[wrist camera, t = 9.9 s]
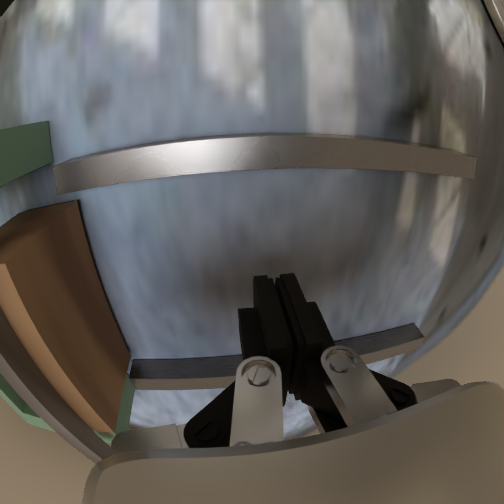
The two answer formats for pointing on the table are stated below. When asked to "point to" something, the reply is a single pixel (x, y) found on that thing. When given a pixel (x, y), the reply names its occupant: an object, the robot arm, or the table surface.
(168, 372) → the track
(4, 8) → the wine bottle
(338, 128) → the table surface
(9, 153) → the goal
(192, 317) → the table surface
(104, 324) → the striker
